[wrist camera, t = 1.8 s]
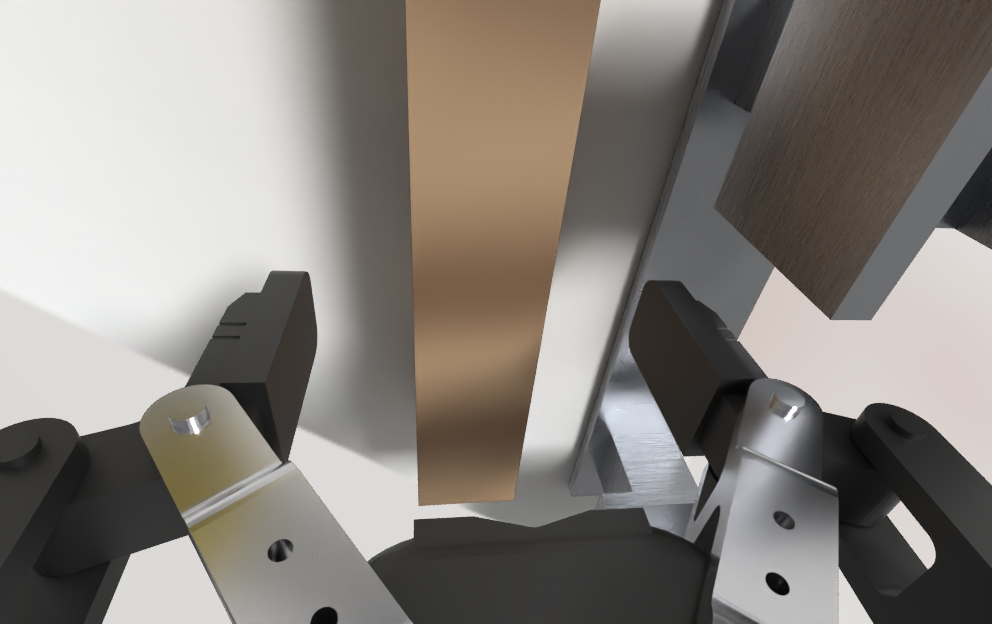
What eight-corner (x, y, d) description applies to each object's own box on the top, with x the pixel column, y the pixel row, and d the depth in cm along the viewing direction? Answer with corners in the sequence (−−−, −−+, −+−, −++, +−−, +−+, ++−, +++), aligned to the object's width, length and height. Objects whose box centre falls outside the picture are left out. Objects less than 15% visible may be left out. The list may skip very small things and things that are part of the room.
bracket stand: (722, -130, 12) (1175, -219, 5) (974, -91, 13) (1648, -114, 6) (549, 487, 27) (595, 688, 20) (673, 481, 28) (758, 670, 21)
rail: (405, -279, 10) (394, -412, 6) (573, -252, 11) (663, -360, 7) (419, 402, 22) (418, 505, 18) (497, 400, 23) (513, 499, 19)
